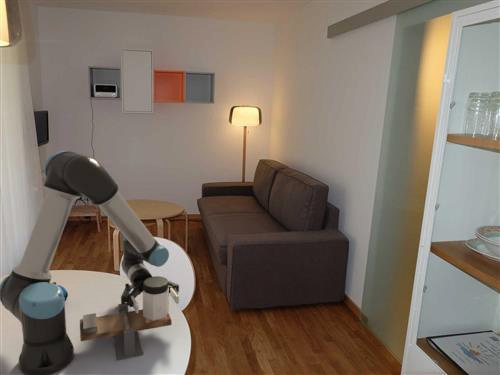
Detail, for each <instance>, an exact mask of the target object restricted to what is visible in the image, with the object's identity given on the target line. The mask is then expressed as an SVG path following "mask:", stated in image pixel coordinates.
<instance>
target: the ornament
mask: <svg viewBox="0 0 500 375" xmlns="http://www.w3.org/2000/svg"><path fill="white" fill-rule="evenodd" d="M52 283H54V284H56V285H58V286H59V287H60V288H61V289H62V291H63V295H64V298H65V302H66V301H67V300H68V298H69V297H68V296H69V293H68V291H67V290H66V288H65V287H63V286H62V285H60V284H57V282H55V281H54V282H52Z"/></svg>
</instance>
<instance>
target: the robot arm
mask: <svg viewBox="0 0 500 375" xmlns="http://www.w3.org/2000/svg"><path fill="white" fill-rule="evenodd" d="M43 167H44V169H43V170H44V171H43V172H44V176H45V177H46V178H45V180H44V184H43V188H44V191H45V196H44V198H43V199H44V200H43V202H42V204H41V207H40V209H39V212H38V214H37V215H38V216H37V218H36V220H35V223H34V226H33V228H32V232H31V233H30V237H29V239H28V241H27V242H28V243H27V244H26V247H25V250H24V253H23V255H22V259H21V261H20V263H19V264H18V265H16V266H13V268H12V270H11V272H10V274H9V275H7V276H6V277H4V278H3V280H2V281H1V282H0V302H1V305H2V306H3V307H4V308H5V309H6V310H7V311H9V312H10V313H11V314H12V315H13V316H14V317H15V318H16V319H17V320H18V321H19V322H20V324H21V330H22V339H23V344H22V348H21V352H20V355H19V357H18V366H19V371H20V372H22V374H24V375H52V374H55V373H57V372H59V371H62V370H63V369H64V368H66V367H68V366H69V364H70V363H71V362H72V361H73V359H74V358H75V349H74V344H73V342H72V341H71V339H70V336H69V334H68V333H67V321H66V306H65V305H66V303H65V302H66V301H65V298H64V295H63V291H62V289H61V288H60V287H59V286H58V285H59V284H57V283H56V284H54V283H53V282H51V279H52V277H53V276H52V273H51V272H50V268H51V265H52V263H53V260H54V257H55V254H56V251H57V249H58V245H59V243H60V241H61V238H62V234H63V232H64V229H65V226H66V224H67V222H68V218H69V216H70V212H71V210H72V207H73V205H74V202H75V201H77V200H78V199H80V198H81V197H82V196H84V197H85V198H86V199H88V200H89V202H91V204H92V205H93V206H98V207H99V208H100V209H101V210H102V212H103V213H104V214H105V215H106V217H107V218H108V219H109V220H110V221H111V222H112V223H113V225H115V227H116V228H117V230H119V232H121V234H122V251H123V253H122V254H123V255H122V256H123V258H122V260H121V268H122V272H124V274H125V275H126V277H127V278H128V280H129V282H130V283H131V284H129V283H125V288H124V289H123V291H122V294H121V296H120V304H125V303H127V306H128V307H130V308H133V309H134V310H133V311H135V312H136V313H139V310H140V307H139V304H138V301H137V300H136V298H137V297H138V296H139V295H141V294H143V290H144V289H143V282H144V281H145V280H146V279H147V278H150V277H153V275H152V274H151V273H150V271H149V269H148V268H147V267H146V265H145V264H144V262H146V263H148V264H149V265H151V266H154V267H157V268H158V267H160V268H161V267H163V266H164V265H165V264H166V263H167V262H168V260H169V256H170V252H169V250H168V248H166V247H165V246H164V245H161V244H160V243H159V242H158V240H156V238H155V237H154V236H153V234H152V233H151V232H150V231H149V230H148V228H147V227H146V226H145V225H144V223H143V222H142V220H141V219H140V218H139V216H138V215H137V214H136V212H135V211H134V210H133V209H132V207H131V205H129V204H128V202H127V201H126V199H124V197H123V195H122V194H121V192H119V188H120V186H119V185H118V184H117V182H116V181H115V180H114V179H113V178H112V176H111V174H109V172H108V171H107V170H106V168H105V167H104V166H103V165H102V164H101V163H100V162H99V161H98V160H96V159H94V158H93V157H91V156H88V155H84V154H81V153H78V152H75V151H72V150H69V151H68V150H60V151H57V152H55V153H53V154H51V155H50V156H49V157H48V158H47V160H46V162H45V164H44V166H43ZM168 286H169V296H170V297H171V298H172V300H173V301H174V302H175V304H176V305H178V304H179V303H180V302H179V301H180V299H179V298H180V296H179V292H180V284H178V283H175V282H173V281H170V280H168Z"/></svg>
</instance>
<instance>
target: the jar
mask: <svg viewBox="0 0 500 375" xmlns="http://www.w3.org/2000/svg"><path fill="white" fill-rule="evenodd" d="M168 281H169V280H168V278H166V277H164V276H158V275H156V276H152V277H150V278H147V279H146V280H145V281H144V282H143V289H144V290H143V292H142V309H143V317H145V318H147V319H150V320H152V321H155V320H159V319H163V318H166V317H167V314H168V313H169V310H170V309H169V308H170V307H169V306H170V305H169V304H170V297H169V296H170V293H169V286H168Z"/></svg>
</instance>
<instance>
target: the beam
mask: <svg viewBox="0 0 500 375" xmlns="http://www.w3.org/2000/svg"><path fill="white" fill-rule="evenodd" d="M168 326H172V318H171V316H170V314H169V312H168V314H167V317H166V318H163V319H159V320H155V321H152V320H150V319H147V318H145V317H143V308H142V309H139V313H136V312H135V310H131V311H128V312H127V311H126V310H122V311H121V313H119V312H118V313H112V314H111V313H110V314H106V315H100V316H97V313H96V312H95V313H89V314H83V315H82V318H81V319H79V334H80V336H79V338H80V342H85V341H91V340H97V339H101V338H107V337H113V336H114V335H119V334H124V329H129V328H134V332H136V331H138V332H141V331H147V330H151V329H156V328H162V327H168Z"/></svg>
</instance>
